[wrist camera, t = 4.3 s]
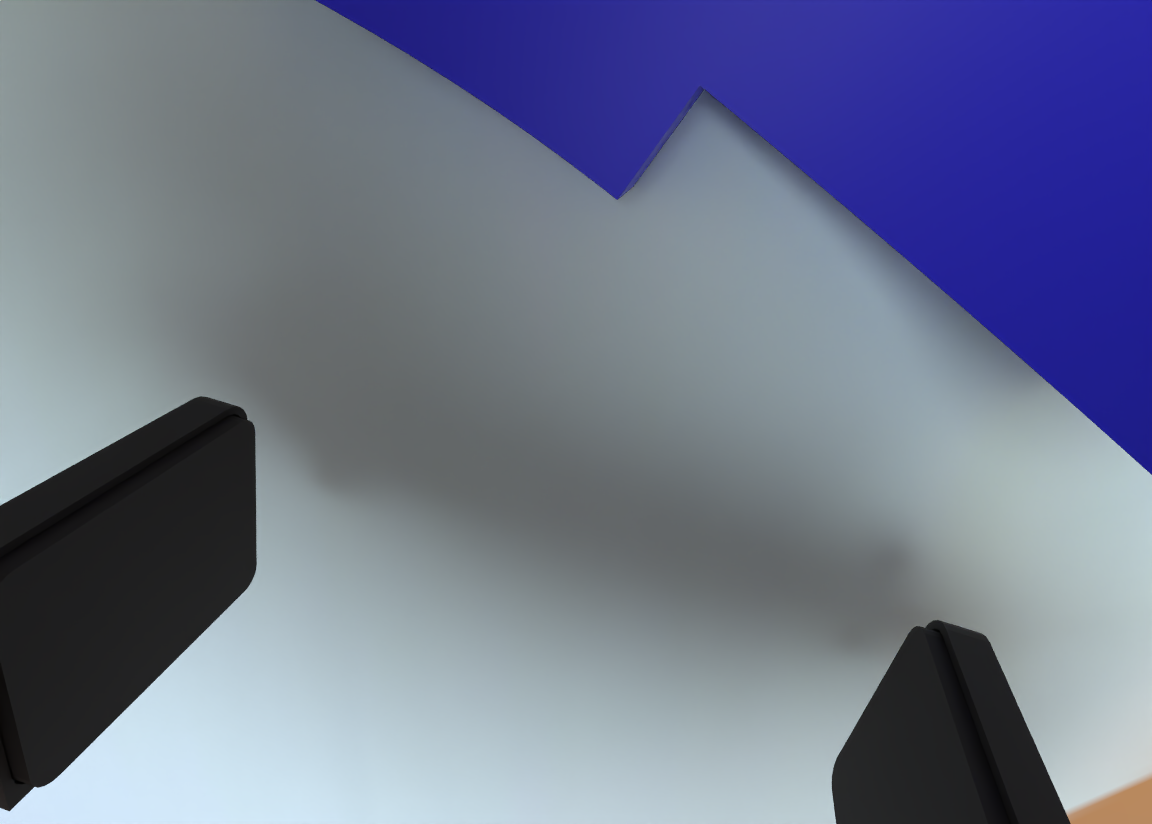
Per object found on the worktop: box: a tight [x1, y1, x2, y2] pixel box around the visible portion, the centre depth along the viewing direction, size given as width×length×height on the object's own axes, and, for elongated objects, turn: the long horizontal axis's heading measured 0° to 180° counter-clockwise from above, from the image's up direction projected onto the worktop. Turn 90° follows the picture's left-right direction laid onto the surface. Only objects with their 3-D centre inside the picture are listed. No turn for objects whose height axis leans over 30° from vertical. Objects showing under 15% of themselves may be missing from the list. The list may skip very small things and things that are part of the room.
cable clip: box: [316, 0, 1152, 475], centre depth 6 cm, size 12×4×6 cm, turn 54°
